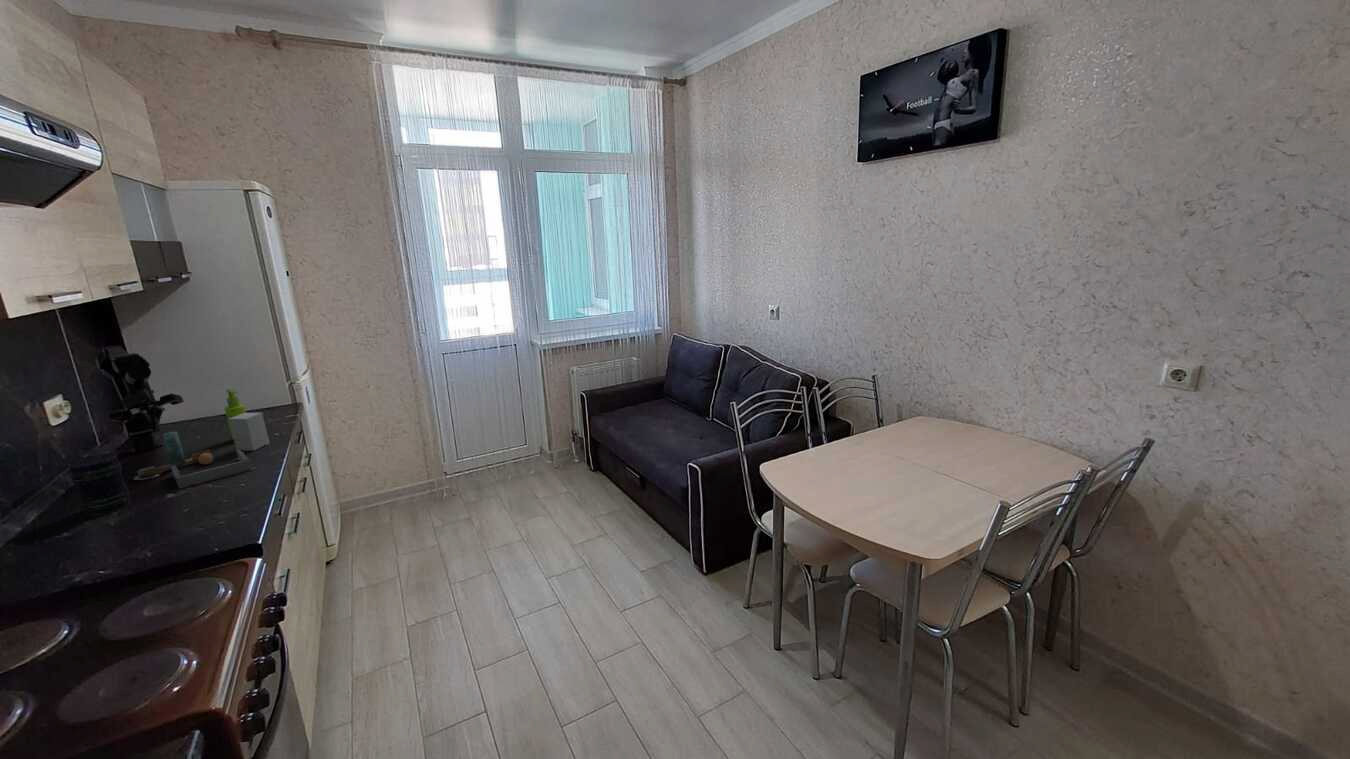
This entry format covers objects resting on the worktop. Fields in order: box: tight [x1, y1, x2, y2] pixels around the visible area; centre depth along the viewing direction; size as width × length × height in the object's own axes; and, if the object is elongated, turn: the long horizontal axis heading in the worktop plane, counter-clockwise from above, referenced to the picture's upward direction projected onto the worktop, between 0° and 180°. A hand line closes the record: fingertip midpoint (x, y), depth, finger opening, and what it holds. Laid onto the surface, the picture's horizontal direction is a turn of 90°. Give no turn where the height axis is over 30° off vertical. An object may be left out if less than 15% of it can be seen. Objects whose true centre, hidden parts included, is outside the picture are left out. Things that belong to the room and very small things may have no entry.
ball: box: [198, 452, 214, 465], centre depth 186 cm, size 4×4×4 cm
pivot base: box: [133, 472, 164, 481], centre depth 177 cm, size 7×7×1 cm
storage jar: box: [67, 452, 132, 516], centre depth 155 cm, size 10×10×15 cm
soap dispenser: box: [224, 388, 247, 440], centre depth 207 cm, size 6×7×20 cm
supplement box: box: [227, 412, 270, 452], centre depth 199 cm, size 7×7×13 cm
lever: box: [136, 431, 214, 478], centre depth 182 cm, size 19×4×12 cm, turn 148°
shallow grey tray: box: [170, 450, 253, 489], centre depth 178 cm, size 15×18×4 cm
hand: (155, 430), depth 186 cm, fingers closed
